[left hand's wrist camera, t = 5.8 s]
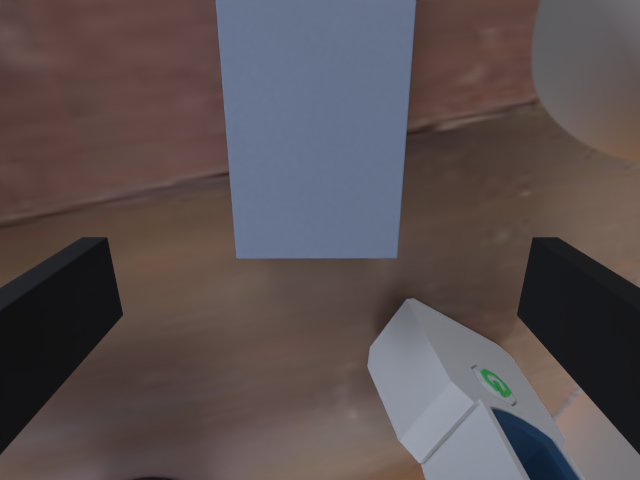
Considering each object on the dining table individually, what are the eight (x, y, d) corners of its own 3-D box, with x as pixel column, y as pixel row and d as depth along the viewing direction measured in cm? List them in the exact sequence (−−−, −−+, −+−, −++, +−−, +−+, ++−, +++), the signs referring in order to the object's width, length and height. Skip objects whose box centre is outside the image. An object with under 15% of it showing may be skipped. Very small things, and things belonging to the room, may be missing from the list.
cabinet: (238, -86, 27) (201, -169, 18) (394, -86, 27) (429, -168, 19) (256, 218, 34) (236, 259, 26) (378, 218, 35) (397, 258, 26)
